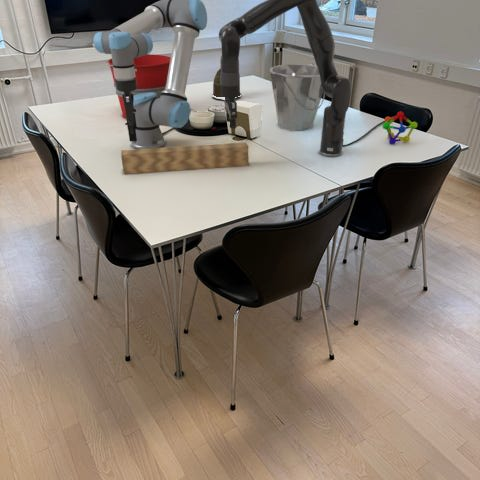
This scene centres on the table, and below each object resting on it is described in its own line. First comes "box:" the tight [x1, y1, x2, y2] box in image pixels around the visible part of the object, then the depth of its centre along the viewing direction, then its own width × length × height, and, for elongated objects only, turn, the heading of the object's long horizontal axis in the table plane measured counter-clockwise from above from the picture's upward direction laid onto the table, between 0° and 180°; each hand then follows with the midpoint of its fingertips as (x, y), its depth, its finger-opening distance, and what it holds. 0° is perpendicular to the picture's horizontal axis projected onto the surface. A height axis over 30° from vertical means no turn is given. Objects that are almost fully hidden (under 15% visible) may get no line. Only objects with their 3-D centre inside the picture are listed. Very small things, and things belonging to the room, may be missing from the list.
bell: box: [212, 68, 242, 97], centre depth 278 cm, size 19×26×20 cm
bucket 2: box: [269, 63, 326, 131], centre depth 226 cm, size 30×30×28 cm
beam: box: [120, 142, 249, 175], centre depth 182 cm, size 51×5×8 cm, turn 101°
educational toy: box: [382, 110, 418, 145], centre depth 207 cm, size 16×13×15 cm
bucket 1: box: [104, 53, 171, 120], centre depth 240 cm, size 35×35×30 cm
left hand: (133, 134), depth 173 cm, fingers open, 13 cm apart
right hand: (230, 124), depth 179 cm, fingers open, 8 cm apart
